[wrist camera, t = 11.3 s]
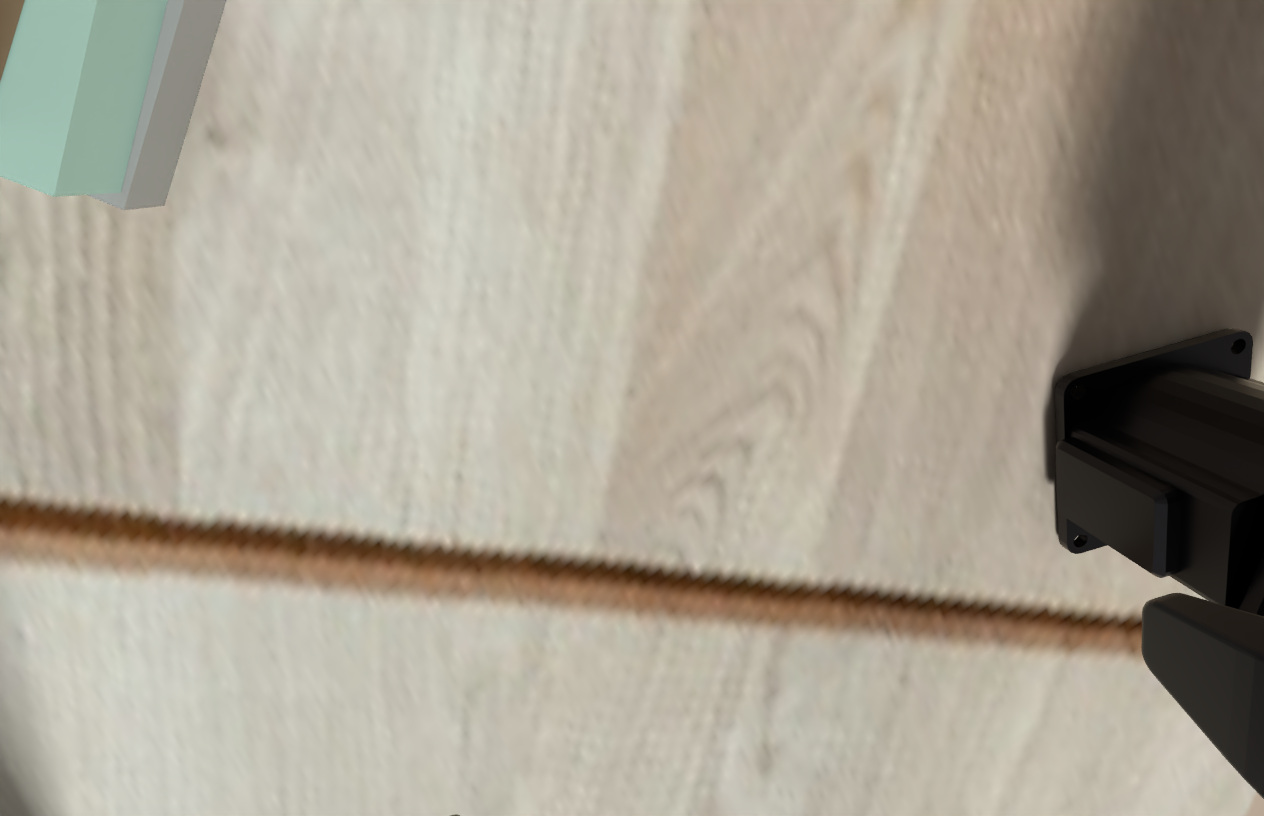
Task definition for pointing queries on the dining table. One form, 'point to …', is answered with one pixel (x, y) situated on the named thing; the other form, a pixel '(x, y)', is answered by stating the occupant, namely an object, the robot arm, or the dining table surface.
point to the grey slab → (168, 102)
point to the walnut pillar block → (8, 27)
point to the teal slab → (76, 92)
